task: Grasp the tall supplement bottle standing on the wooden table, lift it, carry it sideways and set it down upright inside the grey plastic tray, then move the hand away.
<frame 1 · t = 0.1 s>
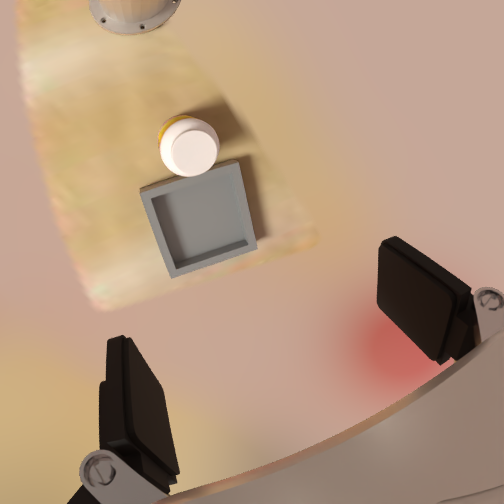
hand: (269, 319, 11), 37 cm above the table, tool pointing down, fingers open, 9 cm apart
supplement bottle: (181, 138, 41), on the table
tray: (199, 216, 47), on the table
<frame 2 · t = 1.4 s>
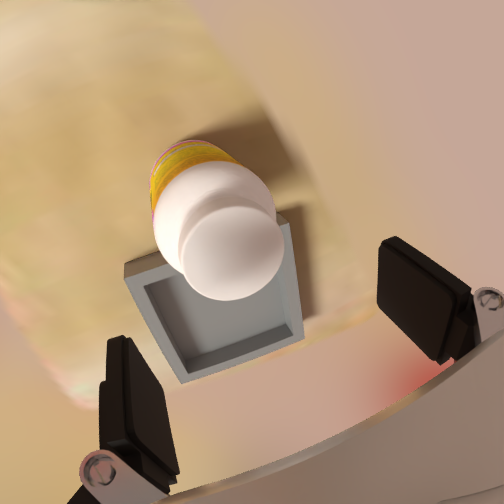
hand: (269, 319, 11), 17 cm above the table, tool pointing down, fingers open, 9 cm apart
supplement bottle: (190, 179, 25), on the table
tray: (221, 299, 31), on the table
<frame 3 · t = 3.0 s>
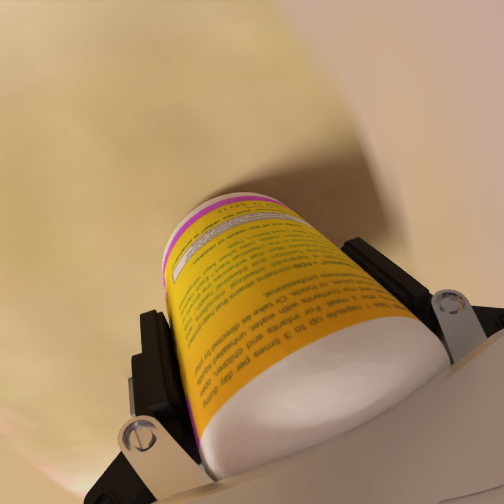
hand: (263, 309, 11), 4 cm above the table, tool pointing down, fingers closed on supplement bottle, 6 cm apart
supplement bottle: (233, 258, 15), on the table, touching gripper
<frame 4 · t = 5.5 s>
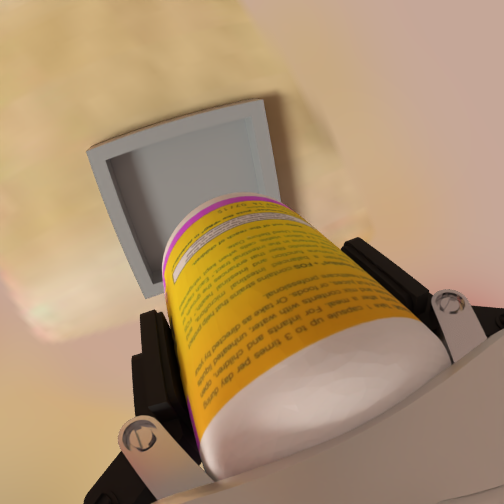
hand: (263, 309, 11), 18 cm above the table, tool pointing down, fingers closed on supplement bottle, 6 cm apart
supplement bottle: (233, 258, 15), point 14 cm above the table, touching gripper
tray: (192, 195, 27), on the table
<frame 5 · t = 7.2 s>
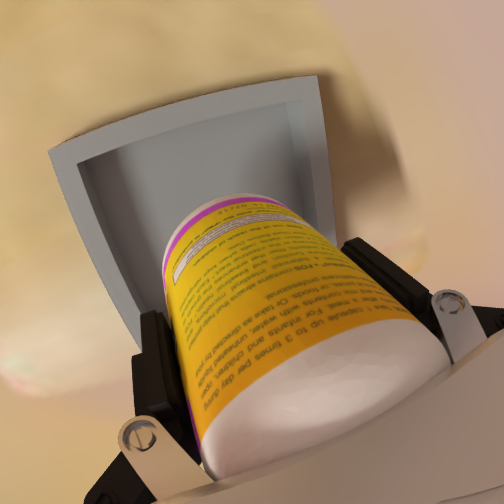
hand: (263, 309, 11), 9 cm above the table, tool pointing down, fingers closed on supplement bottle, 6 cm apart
supplement bottle: (234, 259, 15), point 6 cm above the table, touching gripper
tray: (209, 214, 19), on the table
when the fingers open (6 cm above the table, at t = 8.4 s): supplement bottle drops 2 cm, resting on tray.
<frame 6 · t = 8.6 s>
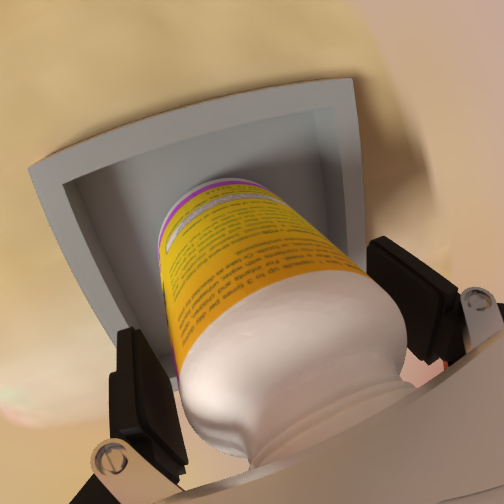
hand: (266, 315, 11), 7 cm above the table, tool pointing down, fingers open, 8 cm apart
supplement bottle: (223, 238, 16), resting on tray
tray: (222, 239, 17), on the table
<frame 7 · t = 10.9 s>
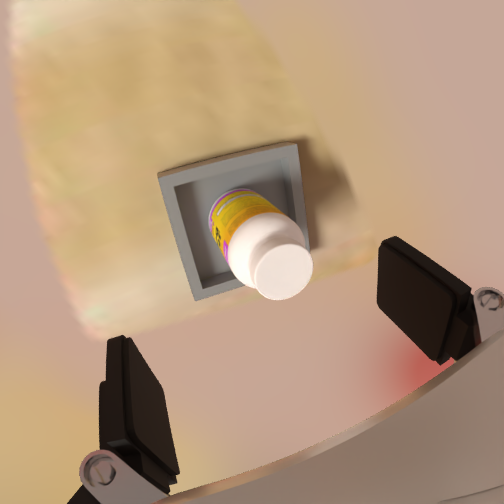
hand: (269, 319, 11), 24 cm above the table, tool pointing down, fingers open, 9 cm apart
supplement bottle: (237, 216, 34), resting on tray
tray: (237, 217, 35), on the table
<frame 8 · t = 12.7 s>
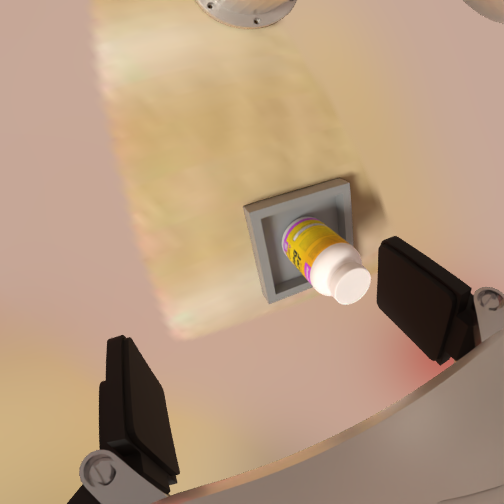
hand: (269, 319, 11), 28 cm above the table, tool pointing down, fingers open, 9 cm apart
supplement bottle: (301, 237, 44), resting on tray
tray: (301, 237, 44), on the table
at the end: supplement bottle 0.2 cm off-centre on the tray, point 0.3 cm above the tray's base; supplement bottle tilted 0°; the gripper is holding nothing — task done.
